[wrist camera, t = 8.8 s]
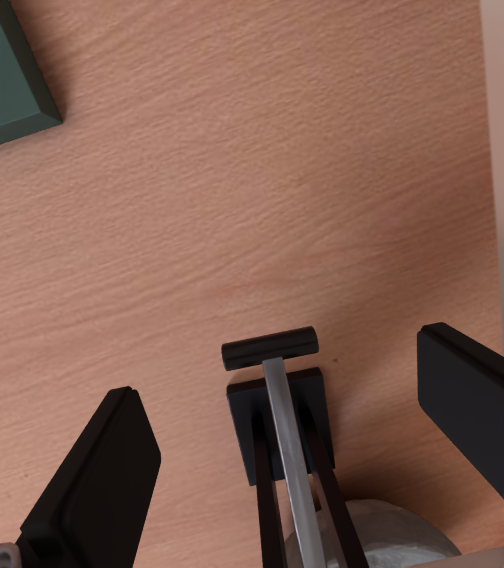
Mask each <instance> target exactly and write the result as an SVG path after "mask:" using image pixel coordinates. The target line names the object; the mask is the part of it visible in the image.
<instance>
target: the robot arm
mask: <svg viewBox="0 0 504 568" xmlns="http://www.w3.org/2000/svg"><path fill="white" fill-rule="evenodd" d="M417 376H418V401H419V404H420V406H421V408H422V409H423V411H424V412H425V413H426V414H427V415H428V416H429V417H430V418H431V419H432V421H433V422H434V423H435V424H436V425H437V426H438V427H439V428H440V429H441V430H442V432H443V433H444V434H445V435H446V436H447V437H448V438H449V439H450V440H451V441H452V443H453V444H454V445H455V446H456V447H457V448H458V449H459V450H460V451H461V452H462V454H463V455H464V456H465V457H466V458H467V459H468V460H469V461H470V462H471V463H472V465H473V466H474V467H475V468H476V469H477V470H478V471H479V472H480V473H481V474H482V476H483V477H484V478H485V479H486V480H487V481H488V482H489V483H490V484H491V485H492V487H493V488H494V489H495V490H496V491H497V492H498V493H499V494H500V495H501V496H502V498H503V499H504V357H503V356H501V355H499V354H498V353H496V352H494V351H492V350H491V349H489V348H487V347H485V346H484V345H482V344H480V343H478V342H477V341H475V340H473V339H472V338H470V337H468V336H466V335H465V334H463V333H461V332H459V331H458V330H456V329H454V328H452V327H451V326H449V325H447V324H446V323H443V322H439V323H434V324H429V325H424V326H423V327H422V328H421V331H419V332H418V333H417ZM160 464H161V453H160V450H159V447H158V444H157V442H156V439H155V436H154V434H153V431H152V428H151V426H150V423H149V420H148V418H147V415H146V412H145V409H144V407H143V404H142V401H141V399H140V396H139V393H138V391H137V390H135V389H134V390H132V388H131V387H129V386H126V387H121V388H117V389H112V390H110V391H109V392H108V393H107V395H106V396H105V398H104V399H103V401H102V402H101V404H100V405H99V407H98V409H97V410H96V412H95V413H94V415H93V416H92V418H91V419H90V421H89V422H88V424H87V425H86V427H85V429H84V430H83V432H82V433H81V435H80V436H79V438H78V439H77V441H76V442H75V444H74V445H73V447H72V449H71V450H70V452H69V453H68V455H67V456H66V458H65V459H64V461H63V462H62V464H61V465H60V467H59V469H58V470H57V472H56V473H55V475H54V476H53V478H52V479H51V481H50V482H49V484H48V485H47V487H46V489H45V490H44V492H43V493H42V495H41V496H40V498H39V499H38V501H37V502H36V504H35V506H34V507H33V509H32V510H31V512H30V513H29V515H28V516H27V518H26V519H25V521H24V522H23V524H22V526H21V527H20V530H21V531H22V533H21V535H20V536H19V538H18V540H17V541H16V543H15V544H13V543H11V542H9V543H1V544H0V568H132V567H133V564H134V560H135V556H136V553H137V549H138V545H139V542H140V538H141V534H142V531H143V527H144V523H145V520H146V516H147V512H148V509H149V505H150V501H151V498H152V494H153V490H154V487H155V483H156V479H157V476H158V472H159V468H160ZM402 568H504V547H499V548H494V549H489V550H484V551H479V552H474V553H470V554H465V555H460V556H455V557H450V558H445V559H441V560H436V561H431V562H426V563H421V564H416V565H412V566H407V567H402Z"/></svg>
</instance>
